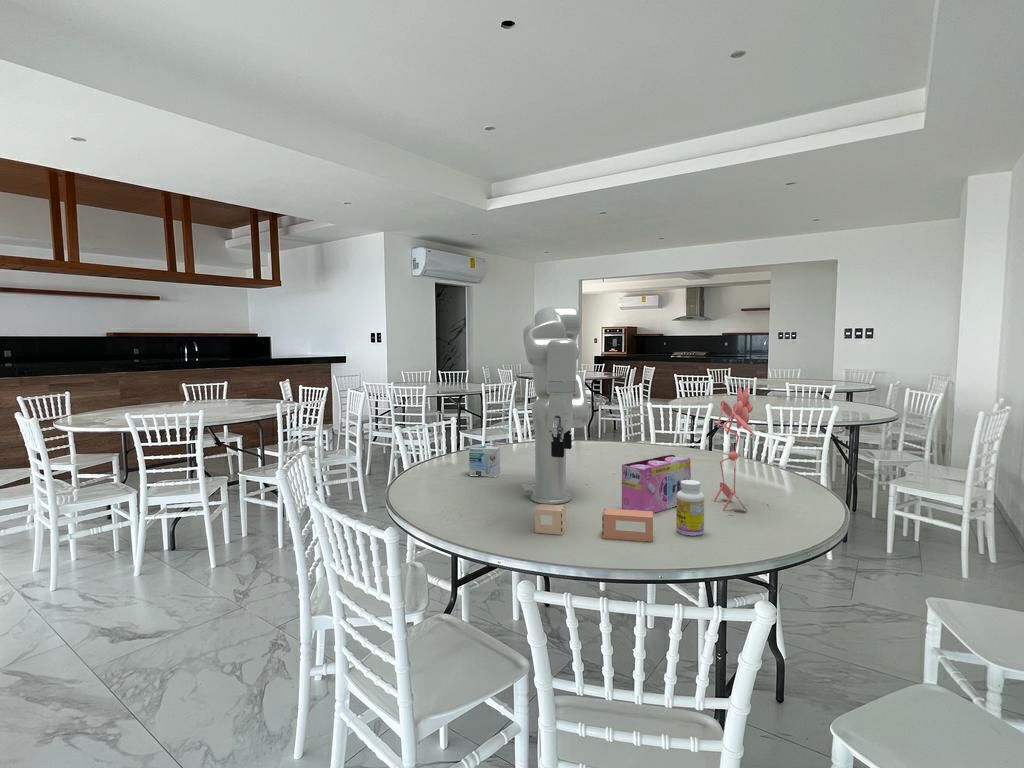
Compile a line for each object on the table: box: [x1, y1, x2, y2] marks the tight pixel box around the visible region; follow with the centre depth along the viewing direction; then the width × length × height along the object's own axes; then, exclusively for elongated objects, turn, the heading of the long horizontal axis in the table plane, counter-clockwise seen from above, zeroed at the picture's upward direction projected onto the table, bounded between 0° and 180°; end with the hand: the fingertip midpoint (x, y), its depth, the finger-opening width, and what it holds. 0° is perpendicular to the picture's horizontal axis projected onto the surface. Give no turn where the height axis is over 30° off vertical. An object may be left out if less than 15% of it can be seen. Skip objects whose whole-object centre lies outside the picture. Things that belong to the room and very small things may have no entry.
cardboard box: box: [601, 507, 654, 543], centre depth 133 cm, size 12×5×6 cm, turn 75°
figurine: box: [713, 386, 771, 517], centre depth 157 cm, size 15×26×35 cm, turn 175°
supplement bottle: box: [675, 479, 705, 537], centre depth 136 cm, size 7×7×13 cm
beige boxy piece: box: [534, 503, 567, 536], centre depth 138 cm, size 7×5×6 cm
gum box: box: [621, 454, 692, 514], centre depth 158 cm, size 24×8×14 cm, turn 127°
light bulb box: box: [468, 444, 501, 476], centre depth 200 cm, size 11×7×11 cm, turn 80°
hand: (561, 452), depth 141 cm, fingers open, 9 cm apart
